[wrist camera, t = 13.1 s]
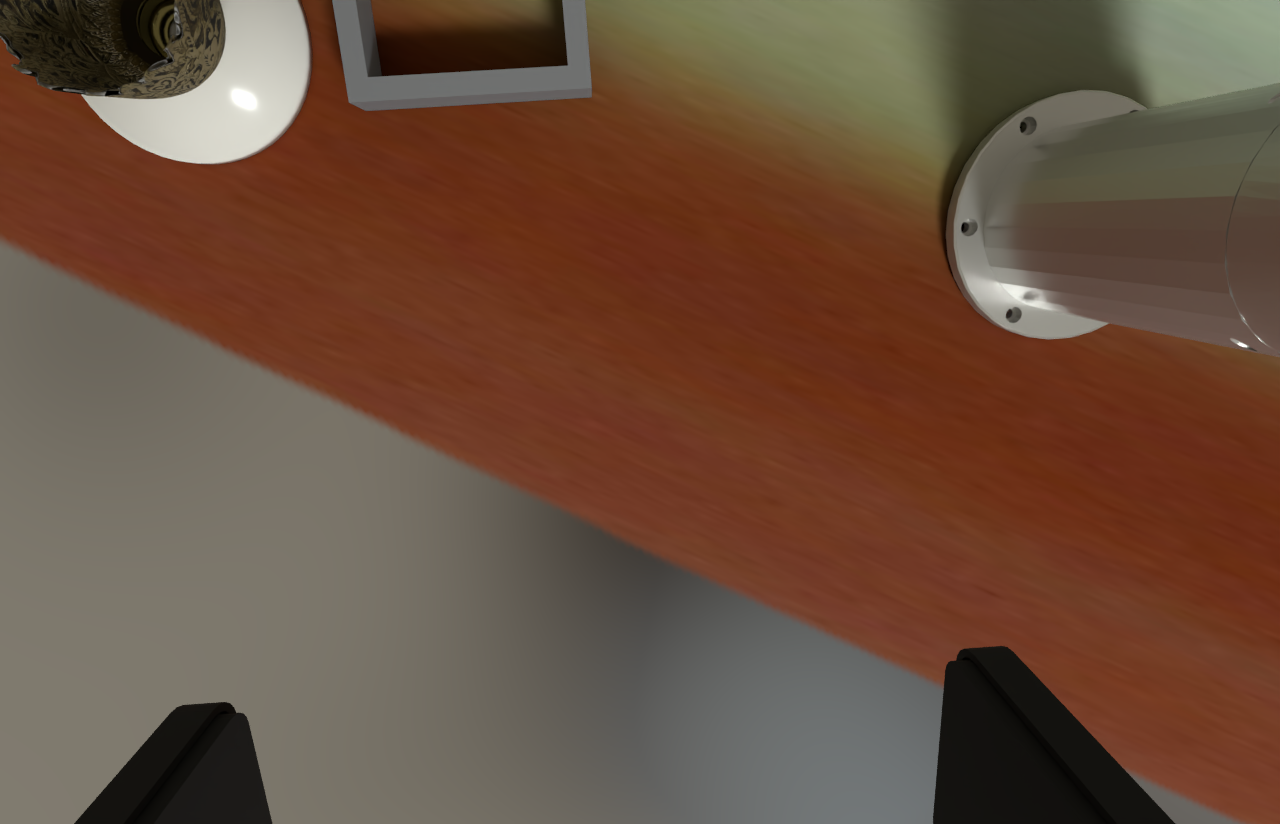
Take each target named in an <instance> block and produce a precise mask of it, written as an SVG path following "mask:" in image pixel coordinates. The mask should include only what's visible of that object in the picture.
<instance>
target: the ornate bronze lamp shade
mask: <svg viewBox="0 0 1280 824" xmlns="http://www.w3.org/2000/svg"><path fill="white" fill-rule="evenodd" d="M174 20H175V22H176V28H177V29H176V34H175V35H173V36H171V37H170V34H169V31H170V26H171V24H172V22H173V21H174ZM0 38H1V39H2V40H3V41H4V43H5V44H6V46H7V51H8V52H9V53H11V54H12V55H14V56H15V57H17V58H18V59H19V60H20V61H21V62H19V65H18V64H17V65H16V64H12V66H13V67H14V68H15V69H16V70H18V71H20V72H22V73H24V74H27V75H30V76H34V77H36V81H37V84H39V85H40V86H43V87H45V88H48V89H51V90H55V91H61V92H69V93H77V94H83V95H86V96H104V97H116V98H129V99H162V98H169V97H174V96H178V95H181V94H185V93H187V92H189V91H192V90H193V89H195V88H197V87H198V86H200V85H201V84H202V83H203V82H205V81H206V80H207V79H208V78H209V77H210V76H211V75H212V73H213V72H214V71H215V69H216V68H217V66H218V64H219V62H220V60H221V57H222V55H223V51H224V47H225V40H226V27H225V19H224V13H223V10H222V6H221V3H220V0H0Z"/></svg>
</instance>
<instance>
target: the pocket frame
mask: <svg viewBox="0 0 1280 824" xmlns="http://www.w3.org/2000/svg"><path fill="white" fill-rule="evenodd" d="M332 2H333V8H334V14H335V20H336V26H337V32H338V38H339V44H340V51H341V57H342V63H343V69H344V75H345V81H346V87H347V93H348V99H349V103H351V104H353V105H355V106H357V107H359V108H361V109H363V110H365V111H373V110H389V109H406V108H422V107H439V106H455V105H472V104H488V103H505V102H521V101H538V100H554V99H571V98H588V97H592V86H591V73H590V60H589V47H588V34H587V21H586V9H585V0H562V2H563V14H564V26H565V37H566V49H567V61H568V66H552V67H535V68H518V69H500V70H483V71H466V72H449V73H432V74H415V75H397V76H382V74H381V67H380V60H379V54H378V47H377V41H376V34H375V27H374V21H373V14H372V8H371V1H370V0H332Z"/></svg>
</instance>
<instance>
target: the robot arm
mask: <svg viewBox="0 0 1280 824" xmlns="http://www.w3.org/2000/svg"><path fill="white" fill-rule="evenodd" d="M1020 124H1021V126H1022V129H1021V131H1020ZM962 223H963V224H964V226H965V227H964V230H963V231H961V226H962ZM946 243H947V254H948V259H949V263H950V266H951V270H952V273H953V277H954V279H955V281H956V283H957V285H958V287H959V289H960V290H961V292H962V294H963V296H964V297H965V298H966V300H967V301H968V302H969V303H970V304H971V306H972V307H973V308H974V309H975V310H976V312H978V313H979V314H980V315H982V316H983V317H984V318H986V319H987V320H988V321H989V322H991V323H992V324H994V325H996V326H998V327H1001V328H1003V329H1005V330H1007V331H1009V332H1012V333H1016V334H1020V335H1023V336H1027V337H1033V338H1041V339H1060V338H1071V337H1074V336H1078V335H1082V334H1085V333H1089V332H1092V331H1094V330H1096V329H1098V328H1101V327H1103V326H1105V325H1107V324H1109V323H1111V324H1116V325H1121V326H1126V327H1131V328H1136V329H1141V330H1146V331H1151V332H1156V333H1161V334H1166V335H1171V336H1176V337H1181V338H1186V339H1191V340H1196V341H1201V342H1206V343H1211V344H1216V345H1221V346H1226V347H1231V348H1237V349H1242V350H1247V351H1252V352H1257V353H1262V354H1267V355H1272V356H1277V357H1280V83H1277V84H1272V85H1267V86H1262V87H1257V88H1252V89H1247V90H1242V91H1237V92H1232V93H1227V94H1222V95H1217V96H1212V97H1207V98H1202V99H1197V100H1192V101H1187V102H1182V103H1177V104H1172V105H1167V106H1162V107H1157V108H1152V109H1147V108H1146V107H1145V106H1143V105H1141V104H1139V103H1137V102H1135V101H1134V100H1132V99H1130V98H1128V97H1126V96H1122V95H1119V94H1115V93H1111V92H1108V91H1096V90H1079V91H1073V92H1067V93H1061V94H1057V95H1054V96H1051V97H1047V98H1044V99H1041V100H1038V101H1036V102H1034V103H1032V104H1030V105H1028V106H1025V107H1023V108H1021V109H1019V110H1017V111H1016V112H1014V113H1013V114H1012V115H1010V116H1009V117H1008V118H1006V119H1005V120H1004V121H1002V122H1001V123H999V124H998V125H997V126H996V127H995V128H994V129H993V130H992V131H991V132H990V133H989V134H988V135H987V136H986V137H985V138H984V139H983V140H982V141H981V142H980V143H979V145H978V146H977V148H976V149H975V151H974V152H973V153H972V155H971V156H970V158H969V159H968V161H967V162H966V164H965V165H964V168H963V170H962V172H961V174H960V176H959V178H958V181H957V183H956V185H955V187H954V191H953V194H952V198H951V201H950V205H949V209H948V216H947V226H946ZM1007 311H1008V314H1007V316H1006V313H1007ZM74 824H272V820H271V816H270V812H269V808H268V803H267V799H266V795H265V790H264V786H263V782H262V778H261V773H260V769H259V765H258V761H257V756H256V752H255V748H254V743H253V739H252V735H251V731H250V726H249V722H248V720H247V717H246V716H245V715H244V714H243V713H236V711H235V709H234V707H233V706H232V705H231V704H230V703H227V702H219V703H205V704H192V705H182V706H179V707H177V708H176V709H175V710H173V712H171V713H170V714H169V715H168V717H167V718H166V719H165V720H164V721H163V722H162V723H161V725H160V726H159V727H158V728H157V729H156V730H155V731H154V733H153V734H152V735H151V736H150V737H149V738H148V740H147V741H146V742H145V743H144V744H143V745H142V747H141V748H140V749H139V750H138V751H137V752H136V754H135V755H134V756H133V757H132V758H131V759H130V760H129V761H128V762H127V764H126V765H125V766H124V767H123V768H122V769H121V771H120V772H119V773H118V774H117V775H116V777H114V779H113V780H112V781H111V782H110V783H109V784H108V785H107V787H106V788H105V789H104V790H103V791H102V792H101V794H100V795H99V796H98V797H97V798H96V799H95V801H94V802H93V803H92V804H91V805H90V806H89V807H88V808H87V810H86V811H85V812H84V813H83V814H82V815H81V816H80V818H79V819H78V820H77V821H76V822H75V823H74ZM933 824H1175V823H1174V822H1173V821H1172V820H1171V819H1170V818H1169V817H1168V815H1167V814H1166V813H1165V812H1164V811H1163V810H1162V809H1161V808H1160V807H1159V806H1158V805H1157V804H1156V803H1155V802H1154V801H1153V800H1152V799H1151V797H1150V796H1149V795H1148V794H1147V793H1146V792H1145V791H1144V790H1143V789H1142V788H1141V787H1140V786H1139V785H1138V784H1137V783H1136V782H1135V780H1134V779H1133V778H1132V777H1131V776H1130V775H1129V774H1128V773H1127V772H1126V771H1125V770H1124V769H1123V768H1122V767H1121V766H1120V765H1119V764H1118V762H1117V761H1116V760H1115V759H1114V758H1113V757H1112V756H1111V755H1110V754H1109V753H1108V752H1107V751H1106V750H1105V749H1104V748H1103V747H1102V746H1101V744H1100V743H1099V742H1098V741H1097V740H1096V739H1095V738H1094V737H1093V736H1092V735H1091V734H1090V733H1089V732H1088V731H1087V730H1086V729H1085V727H1084V726H1083V725H1082V724H1081V723H1080V722H1079V721H1078V720H1077V719H1076V718H1075V717H1074V716H1073V715H1072V714H1071V713H1070V712H1069V711H1068V709H1067V708H1066V707H1065V706H1064V705H1063V704H1062V703H1061V702H1060V701H1059V700H1058V699H1057V698H1056V697H1055V696H1054V695H1053V694H1052V693H1051V691H1050V690H1049V689H1048V688H1047V687H1046V686H1045V685H1044V684H1043V683H1042V682H1041V681H1040V680H1039V679H1038V678H1037V677H1036V676H1035V674H1034V673H1033V672H1032V671H1031V670H1030V669H1029V668H1028V667H1027V666H1026V665H1025V664H1024V663H1023V662H1022V661H1021V660H1020V659H1019V658H1018V656H1017V655H1016V654H1015V653H1014V652H1013V651H1011V650H1010V649H1009V648H1008V647H1004V646H996V647H982V648H968V649H963V650H961V651H960V652H959V654H958V655H957V660H956V661H950V662H948V664H947V666H946V670H945V681H944V693H943V705H942V717H941V729H940V741H939V754H938V765H937V777H936V789H935V803H934V813H933Z"/></svg>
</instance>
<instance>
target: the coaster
mask: <svg viewBox="0 0 1280 824" xmlns="http://www.w3.org/2000/svg"><path fill="white" fill-rule="evenodd" d="M220 3H221V6H222V10H223V13H224V19H225V27H226V40H225V47H224V51H223V55H222V57H221V60H220V62H219V64H218V66H217V68H216V69H215V71H214V72H213V73H212V75H211V76H210V77H209V78H208V79H207V80H206V81H205V82H203V83H202V84H201V85H200V86H198V87H197V88H195V89H193V90H192V91H189V92H187V93H185V94H181V95H178V96H174V97H169V98H162V99H129V98H116V97H104V96H86V95H83V94H81V95H82V96H83V97H84V99H85V100H86V101H87V103H88V104H89V105H90V107H91V108H92V109H93V110H94V111H95V112H96V113H97V114H98V115H99V116H100V118H101V119H102V120H103V121H104V122H106V123H107V124H108V125H109V126H110V127H111V128H113V129H114V130H115V131H116V132H117V133H119V134H120V135H122V136H123V137H124V138H126V139H127V140H129V141H130V142H132V143H134V144H136V145H137V146H139V147H141V148H143V149H145V150H147V151H149V152H152V153H154V154H157V155H159V156H162V157H166V158H169V159H173V160H177V161H183V162H190V163H198V164H223V163H231V162H235V161H239V160H243V159H246V158H249V157H251V156H253V155H255V154H258V153H260V152H261V151H263V150H265V149H266V148H268V147H269V146H271V145H272V144H273V143H275V142H276V141H277V140H278V139H279V138H280V137H281V136H282V135H283V134H284V133H285V132H286V131H287V130H288V128H289V127H290V126H291V125H292V124H293V122H294V120H295V119H296V117H297V116H298V114H299V112H300V110H301V108H302V106H303V103H304V101H305V99H306V96H307V92H308V89H309V85H310V80H311V73H312V42H311V33H310V29H309V25H308V21H307V17H306V14H305V11H304V8H303V5H302V3H301V0H220ZM176 29H177V28H176V22H175V20H174V21H173V22H172V24H171V26H170V31H169V34H170V37H171V36H173V35H175V34H176Z"/></svg>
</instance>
